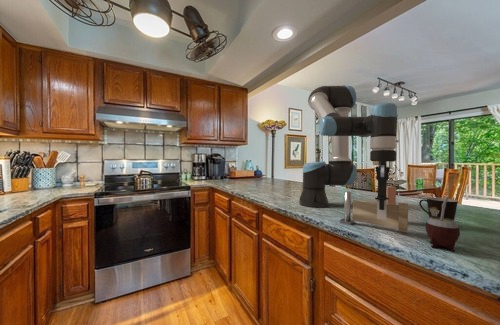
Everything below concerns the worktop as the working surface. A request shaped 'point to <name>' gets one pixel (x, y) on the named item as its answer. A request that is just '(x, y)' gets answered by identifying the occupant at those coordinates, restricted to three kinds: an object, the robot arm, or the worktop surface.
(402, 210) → the gate
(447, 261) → the worktop surface
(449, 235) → the mate gourd
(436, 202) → the coffee mug
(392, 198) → the post
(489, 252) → the worktop surface
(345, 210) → the hinge post
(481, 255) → the worktop surface
